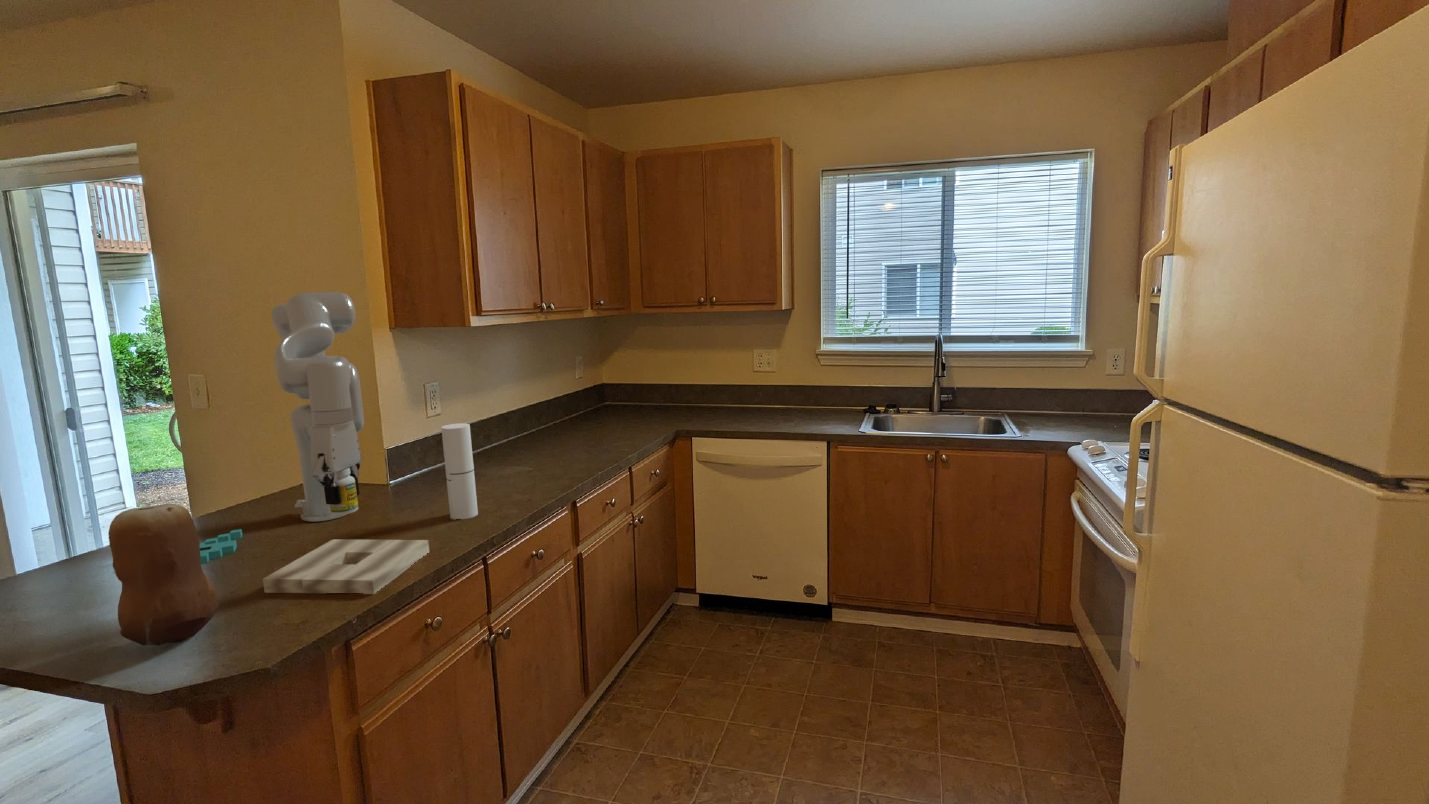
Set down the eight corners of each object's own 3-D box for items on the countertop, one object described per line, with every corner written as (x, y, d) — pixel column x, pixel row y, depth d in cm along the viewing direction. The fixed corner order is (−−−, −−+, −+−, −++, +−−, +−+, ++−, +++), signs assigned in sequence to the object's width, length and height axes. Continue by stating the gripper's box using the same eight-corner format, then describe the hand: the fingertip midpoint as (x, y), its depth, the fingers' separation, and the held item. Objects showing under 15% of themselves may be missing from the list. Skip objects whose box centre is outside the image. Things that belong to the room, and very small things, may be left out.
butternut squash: (186, 617, 128) (165, 492, 124) (239, 625, 125) (218, 496, 120) (103, 655, 115) (76, 516, 111) (159, 665, 111) (133, 522, 107)
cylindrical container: (468, 520, 179) (460, 428, 175) (444, 519, 181) (435, 428, 177) (483, 511, 186) (474, 423, 182) (459, 510, 188) (451, 423, 184)
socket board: (264, 592, 138) (262, 578, 138) (333, 551, 160) (332, 539, 159) (374, 594, 136) (372, 580, 136) (429, 552, 158) (428, 540, 157)
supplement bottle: (338, 508, 148) (333, 466, 147) (363, 507, 148) (358, 465, 147) (325, 516, 143) (320, 472, 141) (351, 515, 143) (345, 471, 141)
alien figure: (144, 553, 164) (118, 583, 146) (142, 544, 164) (116, 573, 146) (242, 537, 173) (229, 563, 155) (241, 529, 173) (228, 554, 155)
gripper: (342, 410, 151) (351, 488, 154) (287, 425, 134) (299, 512, 137) (373, 410, 150) (382, 488, 153) (322, 425, 133) (333, 512, 136)
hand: (343, 498), depth 145 cm, fingers closed on supplement bottle, 5 cm apart
